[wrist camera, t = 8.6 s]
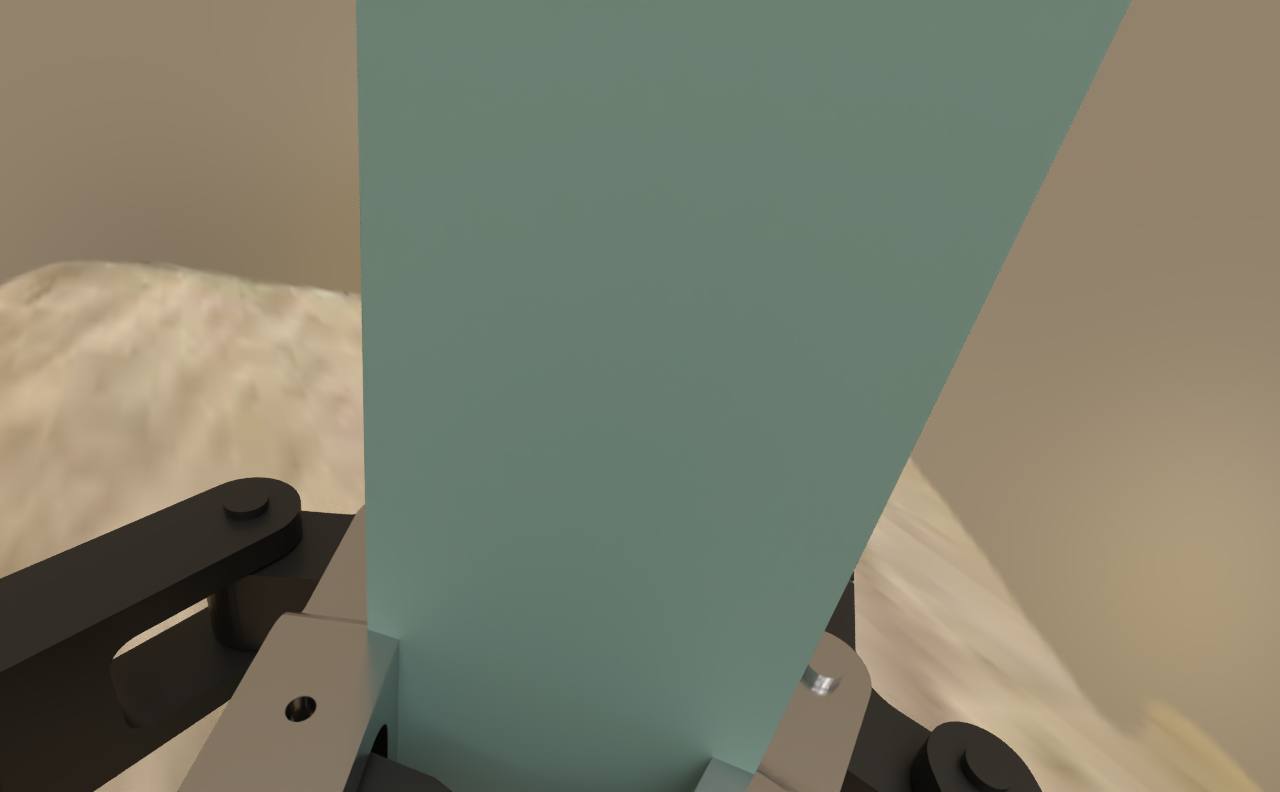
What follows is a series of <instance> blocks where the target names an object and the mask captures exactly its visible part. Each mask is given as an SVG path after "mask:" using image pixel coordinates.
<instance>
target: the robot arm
mask: <svg viewBox="0 0 1280 792" xmlns="http://www.w3.org/2000/svg"><path fill="white" fill-rule="evenodd" d="M853 580H854V571H853V573H852V575H851V577H850V579H849V581H848V584H847V586H846V588H845V590H844V592H843V594H842V596H841V598H840V600H839V602H838V604H837V606H836V608H835V610H834V612H833V614H832V616H831V618H830V620H829V623H828V625H827V627H826V629H825V631H824V633H823V635H822V637H821V639H820V641H819V643H818V645H817V647H816V649H815V651H814V653H813V655H812V657H811V659H810V662H809V664H808V666H807V668H806V670H805V672H804V674H803V676H802V678H801V680H800V682H799V684H798V686H797V688H796V690H795V692H794V694H793V696H792V698H791V701H790V703H789V705H788V707H787V709H786V711H785V713H784V715H783V717H782V719H781V721H780V723H779V725H778V727H777V729H776V731H775V733H774V735H773V737H772V739H771V742H770V744H769V746H768V748H767V750H766V752H765V754H764V756H763V758H762V760H761V762H760V764H759V766H758V768H757V770H756V772H755V774H752V773H750V772H747V771H745V770H743V769H740V768H738V767H735V766H733V765H731V764H728V763H726V762H724V761H721V760H719V759H716V758H714V757H712V759H711V761H710V763H709V765H708V767H707V769H706V771H705V772H704V774H703V776H702V778H701V780H700V782H699V784H698V786H697V788H696V790H695V792H1042V791H1041V789H1040V787H1039V785H1038V783H1037V782H1036V780H1035V778H1034V776H1033V775H1032V773H1031V771H1030V770H1029V768H1028V767H1027V765H1026V764H1025V763H1024V762H1023V760H1022V759H1021V758H1020V757H1019V756H1018V755H1017V754H1016V753H1015V752H1014V750H1013V749H1012V748H1010V747H1009V746H1008V745H1007V744H1006V743H1005V742H1003V741H1002V740H1001V739H999V738H998V737H996V736H995V735H993V734H992V733H990V732H988V731H986V730H985V729H982V728H980V727H978V726H975V725H972V724H969V723H964V722H947V723H943V724H941V725H939V726H937V727H936V728H935V729H934V730H933V731H932V732H931V731H929V730H928V729H926V728H924V727H923V726H921V725H920V724H918V723H917V722H915V721H914V720H912V719H910V718H909V717H907V716H906V715H904V714H903V713H901V712H900V711H898V710H897V709H895V708H894V707H893V706H891V705H890V704H888V703H887V702H886V701H885V700H884V699H883V698H882V697H881V696H880V695H879V694H878V693H877V692H876V691H875V690H874V689H873V688H872V687H871V679H870V675H869V672H868V670H867V668H866V666H865V664H864V663H863V661H862V659H861V658H860V657H859V656H858V654H857V653H856V650H855V606H854V583H853ZM205 598H207V602H208V607H207V608H205V609H203V610H201V611H199V612H198V613H196V614H194V615H192V616H190V617H189V618H187V619H185V620H183V621H181V622H180V623H178V624H176V625H174V626H172V627H171V628H169V629H167V630H165V631H163V632H162V633H160V634H158V635H156V636H154V637H153V638H151V639H149V640H147V641H145V642H144V643H142V644H140V645H138V646H136V647H135V648H133V649H131V650H129V651H127V652H126V653H124V654H122V655H120V656H118V657H117V658H115V659H113V657H114V656H115V654H116V653H117V652H118V650H119V649H120V648H121V647H122V646H123V645H125V644H126V643H127V642H128V641H129V640H131V639H132V638H134V637H136V636H137V635H139V634H141V633H143V632H144V631H146V630H148V629H150V628H152V627H154V626H155V625H157V624H159V623H161V622H163V621H165V620H167V619H168V618H170V617H172V616H174V615H176V614H178V613H179V612H181V611H183V610H185V609H187V608H189V607H190V606H192V605H194V604H196V603H198V602H200V601H201V600H203V599H205ZM112 659H113V660H112ZM398 687H399V639H396V638H393V637H390V636H387V635H384V634H380V633H377V632H374V631H371V630H368V628H367V573H366V518H365V505H364V506H363V507H362V508H361V509H360V510H359V511H358V512H357V514H353V515H350V514H334V513H322V512H310V511H301V500H300V496H299V494H298V493H297V491H296V490H295V489H294V488H293V487H292V486H290V485H289V484H287V483H285V482H282V481H280V480H276V479H271V478H259V477H254V478H244V479H238V480H234V481H230V482H227V483H224V484H222V485H219V486H217V487H214V488H212V489H210V490H207V491H205V492H203V493H200V494H198V495H196V496H193V497H191V498H188V499H186V500H184V501H181V502H179V503H177V504H174V505H172V506H170V507H167V508H165V509H163V510H160V511H158V512H156V513H153V514H151V515H149V516H146V517H144V518H142V519H139V520H137V521H135V522H132V523H130V524H128V525H125V526H123V527H121V528H118V529H116V530H113V531H111V532H109V533H106V534H104V535H102V536H99V537H97V538H95V539H92V540H90V541H88V542H85V543H83V544H81V545H78V546H76V547H74V548H71V549H69V550H67V551H64V552H62V553H60V554H57V555H55V556H53V557H50V558H48V559H46V560H43V561H41V562H38V563H36V564H34V565H31V566H29V567H27V568H24V569H22V570H20V571H17V572H15V573H13V574H10V575H8V576H6V577H3V578H1V579H0V792H94V791H95V790H97V789H98V788H99V787H101V786H102V785H104V784H105V783H107V782H108V781H110V780H111V779H113V778H114V777H116V776H117V775H119V774H120V773H122V772H123V771H125V770H126V769H128V768H129V767H131V766H132V765H134V764H135V763H137V762H138V761H140V760H141V759H143V758H144V757H146V756H147V755H149V754H150V753H152V752H153V751H154V750H156V749H157V748H159V747H160V746H162V745H163V744H165V743H166V742H168V741H169V740H171V739H172V738H174V737H175V736H177V735H178V734H180V733H181V732H183V731H184V730H186V729H187V728H189V727H190V726H192V725H193V724H195V723H196V722H198V721H199V720H201V719H202V718H204V717H205V716H207V715H208V714H209V713H211V712H212V711H214V710H215V709H217V708H218V707H220V706H221V705H223V704H224V703H226V702H227V701H229V700H230V701H229V703H228V705H227V706H226V708H225V710H224V712H223V713H222V715H221V717H220V718H219V720H218V722H217V724H216V725H215V727H214V729H213V731H212V732H211V734H210V736H209V738H208V739H207V741H206V743H205V744H204V746H203V748H202V750H201V751H200V753H199V755H198V757H197V758H196V760H195V762H194V763H193V765H192V767H191V769H190V770H189V772H188V774H187V776H186V777H185V779H184V781H183V782H182V784H181V786H180V788H179V789H178V791H177V792H452V791H451V790H450V789H449V788H447V787H446V786H445V785H444V784H442V783H441V782H440V781H439V780H437V779H436V778H435V777H432V776H430V775H427V774H425V773H422V772H420V771H417V770H415V769H412V768H410V767H407V766H405V765H402V764H400V763H397V746H398Z"/></svg>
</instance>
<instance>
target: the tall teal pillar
mask: <svg viewBox="0 0 1280 792" xmlns="http://www.w3.org/2000/svg"><path fill="white" fill-rule="evenodd" d="M1131 1H1132V0H356V22H357V73H358V74H357V77H358V133H359V183H360V184H359V185H360V187H359V188H360V241H361V242H360V243H361V298H362V353H363V408H364V463H365V518H366V573H367V628H368V630H371V631H374V632H377V633H380V634H384V635H387V636H390V637H393V638H396V639H399V687H398V746H397V763H400V764H402V765H405V766H407V767H410V768H412V769H415V770H417V771H420V772H422V773H425V774H427V775H430V776H432V777H435V778H436V779H437V780H439V781H440V782H441V783H442V784H444V785H445V786H446V787H447V788H449V789H450V790H451V791H452V792H695V790H696V788H697V786H698V784H699V782H700V780H701V778H702V776H703V774H704V772H705V771H706V769H707V767H708V765H709V763H710V761H711V759H712V757H714V758H716V759H719V760H721V761H724V762H726V763H728V764H731V765H733V766H735V767H738V768H740V769H743V770H745V771H747V772H750V773H752V774H755V772H756V770H757V768H758V766H759V764H760V762H761V760H762V758H763V756H764V754H765V752H766V750H767V748H768V746H769V744H770V742H771V739H772V737H773V735H774V733H775V731H776V729H777V727H778V725H779V723H780V721H781V719H782V717H783V715H784V713H785V711H786V709H787V707H788V705H789V703H790V701H791V698H792V696H793V694H794V692H795V690H796V688H797V686H798V684H799V682H800V680H801V678H802V676H803V674H804V672H805V670H806V668H807V666H808V664H809V662H810V659H811V657H812V655H813V653H814V651H815V649H816V647H817V645H818V643H819V641H820V639H821V637H822V635H823V633H824V631H825V629H826V627H827V625H828V623H829V620H830V618H831V616H832V614H833V612H834V610H835V608H836V606H837V604H838V602H839V600H840V598H841V596H842V594H843V592H844V590H845V588H846V586H847V584H848V581H849V579H850V577H851V575H852V573H853V571H854V569H855V567H856V565H857V563H858V561H859V559H860V557H861V555H862V553H863V551H864V549H865V547H866V545H867V543H868V540H869V538H870V536H871V534H872V532H873V530H874V528H875V526H876V524H877V522H878V520H879V518H880V516H881V514H882V512H883V510H884V508H885V506H886V504H887V501H888V499H889V497H890V495H891V493H892V491H893V489H894V487H895V485H896V483H897V481H898V479H899V477H900V475H901V473H902V471H903V469H904V467H905V465H906V462H907V460H908V458H909V456H910V454H911V452H912V450H913V448H914V446H915V444H916V442H917V440H918V438H919V435H920V434H921V432H922V429H923V428H924V426H925V423H926V421H927V419H928V417H929V415H930V413H931V411H932V409H933V407H934V405H935V403H936V401H937V399H938V397H939V395H940V393H941V391H942V388H943V387H944V384H945V382H946V380H947V378H948V376H949V374H950V372H951V370H952V368H953V366H954V364H955V362H956V360H957V358H958V355H959V354H960V351H961V350H962V347H963V345H964V343H965V341H966V339H967V337H968V335H969V333H970V331H971V329H972V327H973V325H974V323H975V321H976V319H977V317H978V315H979V313H980V311H981V309H982V306H983V304H984V302H985V300H986V298H987V296H988V294H989V292H990V290H991V288H992V286H993V284H994V282H995V280H996V278H997V276H998V274H999V271H1000V269H1001V268H1002V265H1003V263H1004V261H1005V259H1006V257H1007V255H1008V253H1009V251H1010V249H1011V247H1012V245H1013V243H1014V241H1015V239H1016V237H1017V235H1018V232H1019V231H1020V229H1021V227H1022V224H1023V222H1024V220H1025V218H1026V216H1027V214H1028V212H1029V210H1030V208H1031V206H1032V204H1033V202H1034V200H1035V198H1036V196H1037V194H1038V192H1039V190H1040V188H1041V185H1042V183H1043V181H1044V179H1045V177H1046V175H1047V173H1048V171H1049V169H1050V167H1051V165H1052V163H1053V161H1054V159H1055V157H1056V155H1057V153H1058V151H1059V149H1060V146H1061V144H1062V142H1063V140H1064V138H1065V136H1066V134H1067V132H1068V130H1069V128H1070V126H1071V124H1072V122H1073V120H1074V118H1075V116H1076V114H1077V112H1078V110H1079V107H1080V105H1081V103H1082V101H1083V99H1084V97H1085V95H1086V93H1087V91H1088V89H1089V87H1090V85H1091V83H1092V81H1093V79H1094V77H1095V75H1096V73H1097V71H1098V68H1099V66H1100V64H1101V62H1102V60H1103V58H1104V56H1105V54H1106V52H1107V50H1108V48H1109V46H1110V44H1111V42H1112V40H1113V38H1114V36H1115V34H1116V31H1117V29H1118V27H1119V25H1120V23H1121V21H1122V19H1123V17H1124V15H1125V13H1126V11H1127V9H1128V7H1129V5H1130V3H1131Z"/></svg>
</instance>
